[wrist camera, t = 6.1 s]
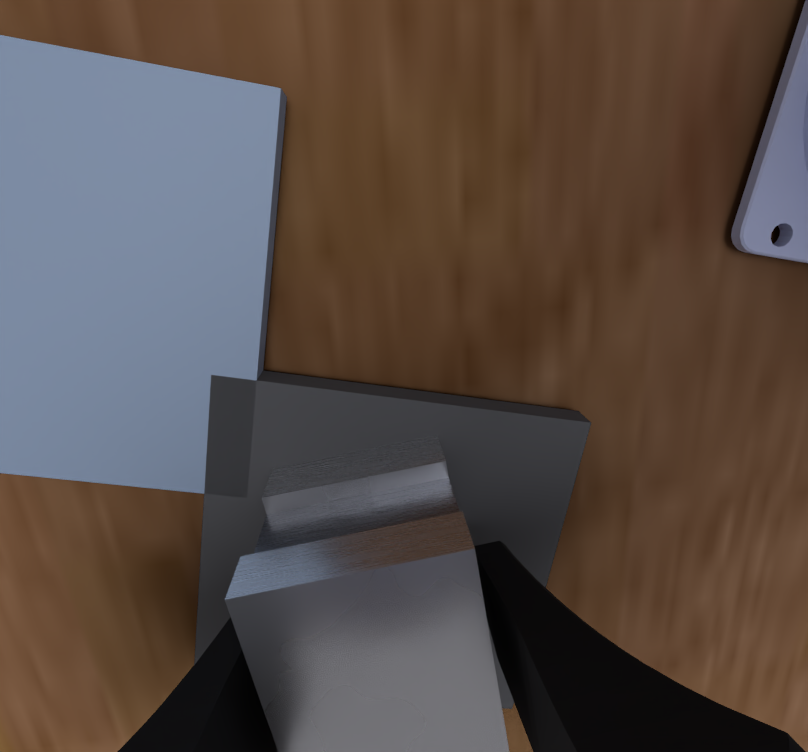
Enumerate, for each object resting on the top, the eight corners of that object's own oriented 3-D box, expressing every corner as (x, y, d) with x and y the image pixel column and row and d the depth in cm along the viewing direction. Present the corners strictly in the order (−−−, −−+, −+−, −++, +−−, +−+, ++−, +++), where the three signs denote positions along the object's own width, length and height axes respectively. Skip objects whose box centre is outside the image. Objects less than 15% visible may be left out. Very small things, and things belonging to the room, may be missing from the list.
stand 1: (287, 97, 11) (280, 88, 10) (253, 482, 13) (246, 497, 13) (-194, 7, 10) (-241, -11, 9) (-135, 441, 12) (-167, 456, 12)
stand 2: (578, 411, 14) (591, 422, 13) (505, 685, 16) (512, 708, 15) (220, 365, 12) (211, 374, 12) (201, 665, 15) (193, 689, 14)
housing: (472, 632, 14) (519, 810, 10) (329, 663, 14) (313, 854, 10) (437, 434, 13) (475, 548, 8) (272, 467, 12) (224, 600, 8)
